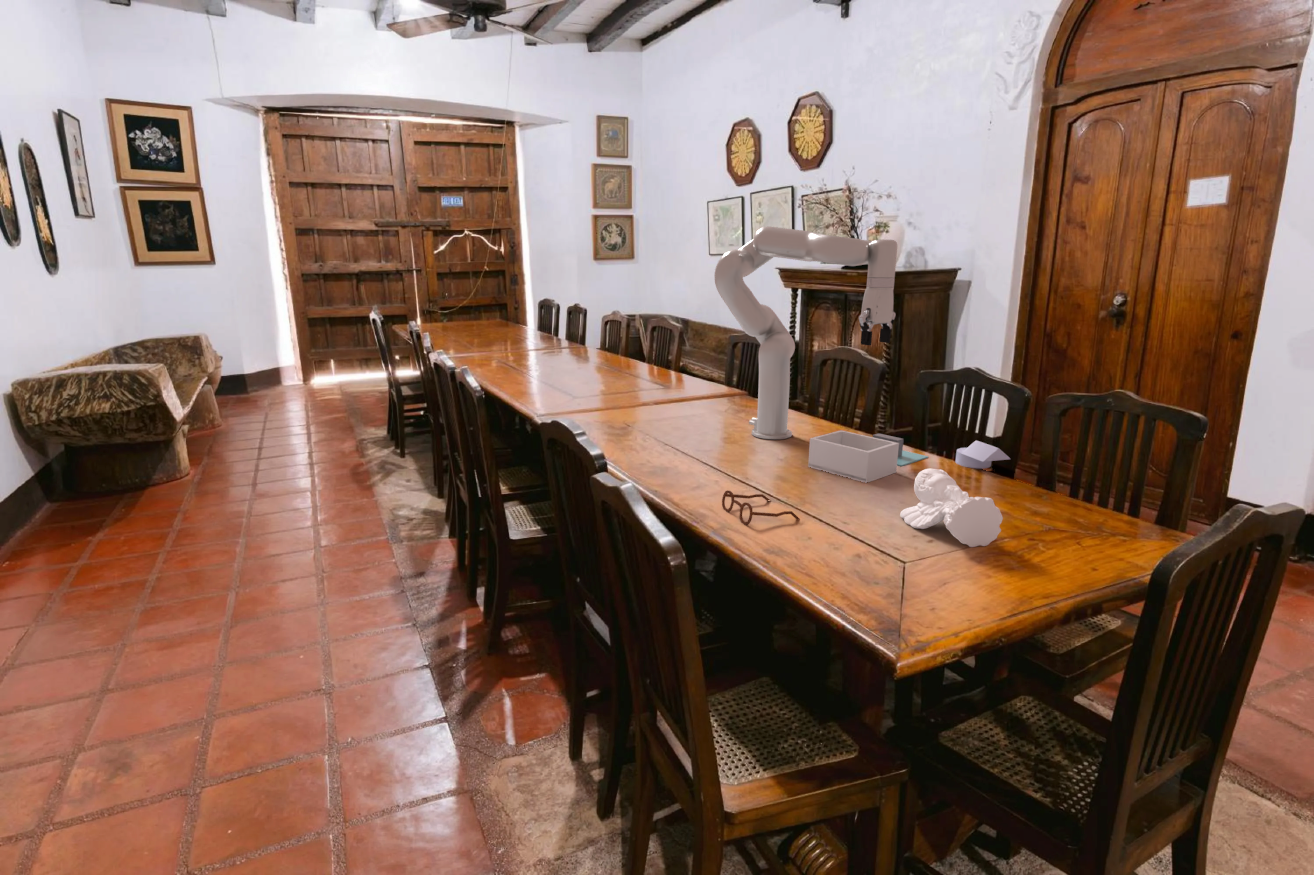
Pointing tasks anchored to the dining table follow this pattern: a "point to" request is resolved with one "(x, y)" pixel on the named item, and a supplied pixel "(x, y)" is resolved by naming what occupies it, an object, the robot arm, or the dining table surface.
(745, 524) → the glasses
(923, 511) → the cherub figurine
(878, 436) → the lid
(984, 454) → the wedge on round base
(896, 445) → the tub
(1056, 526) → the dining table surface
